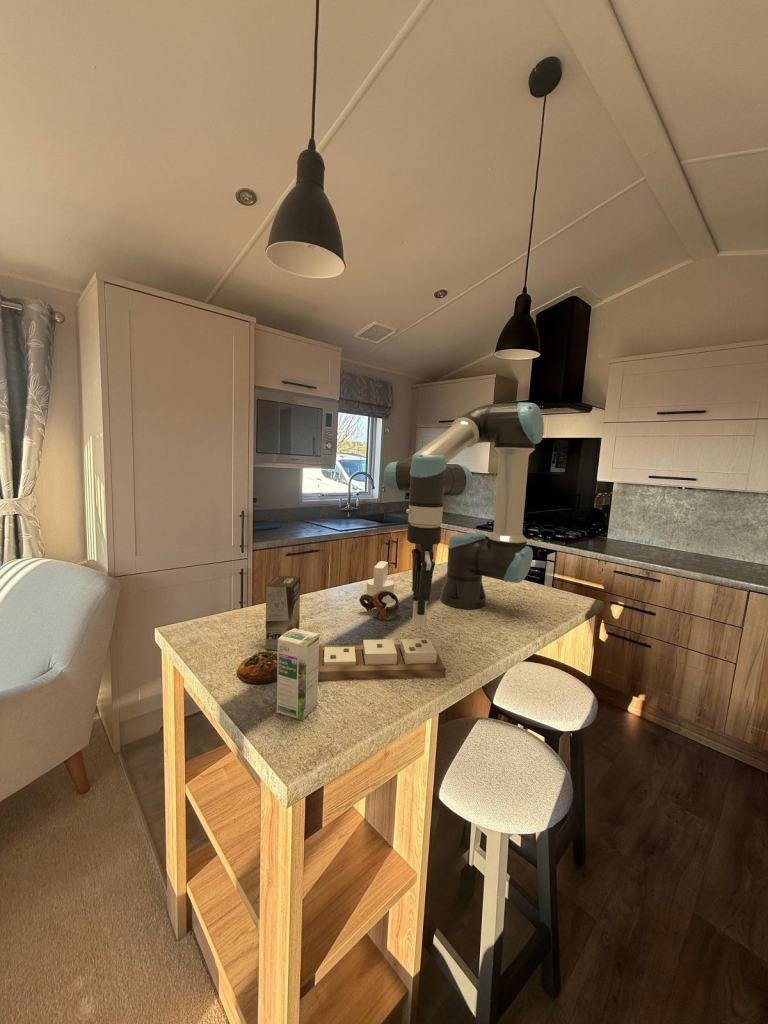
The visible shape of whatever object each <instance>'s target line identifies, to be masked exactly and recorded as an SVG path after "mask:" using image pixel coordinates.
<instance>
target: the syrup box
mask: <svg viewBox="0 0 768 1024" xmlns="http://www.w3.org/2000/svg"><path fill="white" fill-rule="evenodd" d="M319 646H320V633H319V632H312V631H307V630H303V629H300V628H299V629H296V628H294V629H292V630H290V631H288V632H286V633H285V634H283V635H282V636H281V637H280V638H278V650H276V651H277V681H276V683H277V686H276V687H277V688H276V689H277V690H276V691H277V692H276V693H277V694H276V713H277V714H282V715H284V716H288V717H292V718H294V719H297V720H300V721H303V720H304V719H305V718H306V717H307V716H308V715H309V714H311V712H312V711H313V710H314V708H315V707H316V706H317V705H318V702H319V701H318V698H319V694H318V692H319V681H318V666H319Z"/></svg>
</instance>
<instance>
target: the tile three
mask: <svg viewBox="0 0 768 1024" xmlns="http://www.w3.org/2000/svg"><path fill="white" fill-rule="evenodd" d="M400 644H401V648H400V649H401V652H402V655H403V656H402V659H403V662H404V665H405V664H433V663H436V657H437V653H438V651H437V649H436V647H435V646H433V645H434V644H433V643H432V641H431V639H430V638H406V639H405V638H403V639H402V638H401V639H400ZM434 647H435V648H434ZM435 649H436V650H435ZM436 651H437V652H436Z"/></svg>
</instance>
